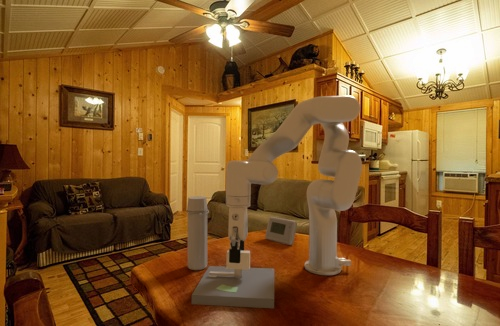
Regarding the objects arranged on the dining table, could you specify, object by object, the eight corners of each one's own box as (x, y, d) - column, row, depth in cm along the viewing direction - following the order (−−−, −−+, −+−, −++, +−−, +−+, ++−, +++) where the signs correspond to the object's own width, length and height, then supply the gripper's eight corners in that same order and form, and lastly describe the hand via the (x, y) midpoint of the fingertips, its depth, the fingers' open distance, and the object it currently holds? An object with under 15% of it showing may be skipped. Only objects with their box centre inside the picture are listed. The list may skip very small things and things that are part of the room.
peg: (250, 276, 86) (250, 250, 86) (249, 279, 84) (249, 253, 84) (210, 274, 87) (210, 249, 87) (208, 277, 85) (208, 251, 85)
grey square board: (274, 276, 92) (274, 268, 92) (274, 308, 72) (274, 298, 72) (209, 273, 94) (209, 265, 94) (191, 304, 74) (191, 294, 74)
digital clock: (263, 238, 135) (263, 217, 135) (277, 236, 140) (277, 215, 140) (285, 247, 122) (286, 223, 122) (300, 244, 127) (300, 221, 127)
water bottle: (184, 265, 102) (184, 196, 101) (205, 262, 105) (205, 195, 104) (189, 275, 93) (189, 200, 93) (212, 271, 96) (212, 199, 96)
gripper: (247, 206, 76) (246, 268, 76) (252, 197, 93) (251, 248, 93) (220, 205, 77) (219, 266, 77) (230, 196, 94) (229, 247, 94)
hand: (236, 256), depth 85 cm, fingers open, 9 cm apart
